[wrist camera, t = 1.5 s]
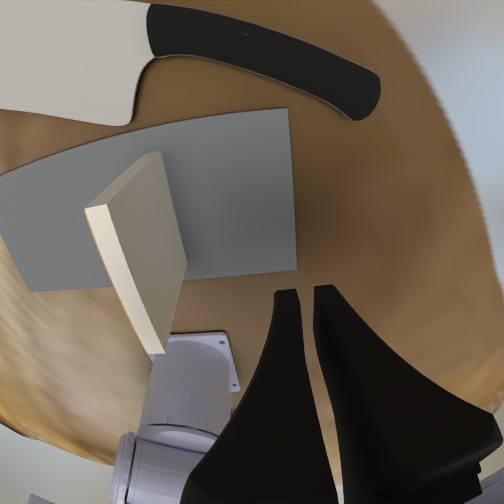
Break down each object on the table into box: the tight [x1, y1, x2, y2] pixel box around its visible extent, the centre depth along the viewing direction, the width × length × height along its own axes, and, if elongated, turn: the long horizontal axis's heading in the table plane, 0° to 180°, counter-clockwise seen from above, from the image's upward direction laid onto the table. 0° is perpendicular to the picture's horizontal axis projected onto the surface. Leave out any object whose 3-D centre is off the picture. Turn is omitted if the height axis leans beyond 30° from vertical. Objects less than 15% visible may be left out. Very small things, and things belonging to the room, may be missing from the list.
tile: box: [84, 150, 187, 354], centre depth 15 cm, size 8×1×8 cm, turn 6°
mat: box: [0, 107, 297, 292], centre depth 19 cm, size 11×24×1 cm, turn 96°
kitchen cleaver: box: [0, 0, 381, 126], centre depth 12 cm, size 31×2×10 cm
